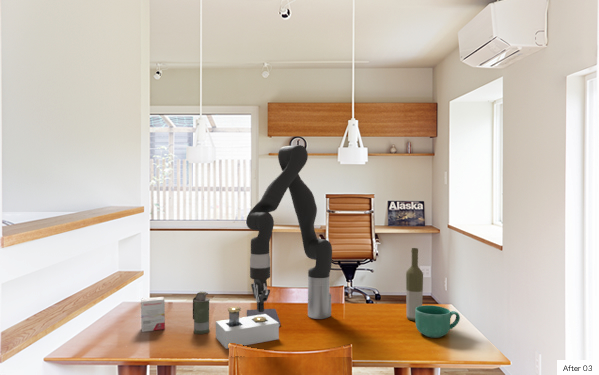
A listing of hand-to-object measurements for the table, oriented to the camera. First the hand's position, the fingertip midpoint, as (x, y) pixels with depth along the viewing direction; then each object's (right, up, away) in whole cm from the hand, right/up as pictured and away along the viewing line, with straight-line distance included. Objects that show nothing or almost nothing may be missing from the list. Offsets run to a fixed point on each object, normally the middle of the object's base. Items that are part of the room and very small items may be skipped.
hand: (260, 311), depth 159 cm
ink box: (-43, -9, +7) cm, 44 cm away
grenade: (-23, -9, +5) cm, 25 cm away
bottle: (+63, -10, +21) cm, 67 cm away
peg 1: (-9, -4, -5) cm, 11 cm away
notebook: (-1, -10, +20) cm, 22 cm away
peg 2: (0, -9, 0) cm, 9 cm away
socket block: (-5, -9, -2) cm, 11 cm away
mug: (+67, -10, +3) cm, 68 cm away
